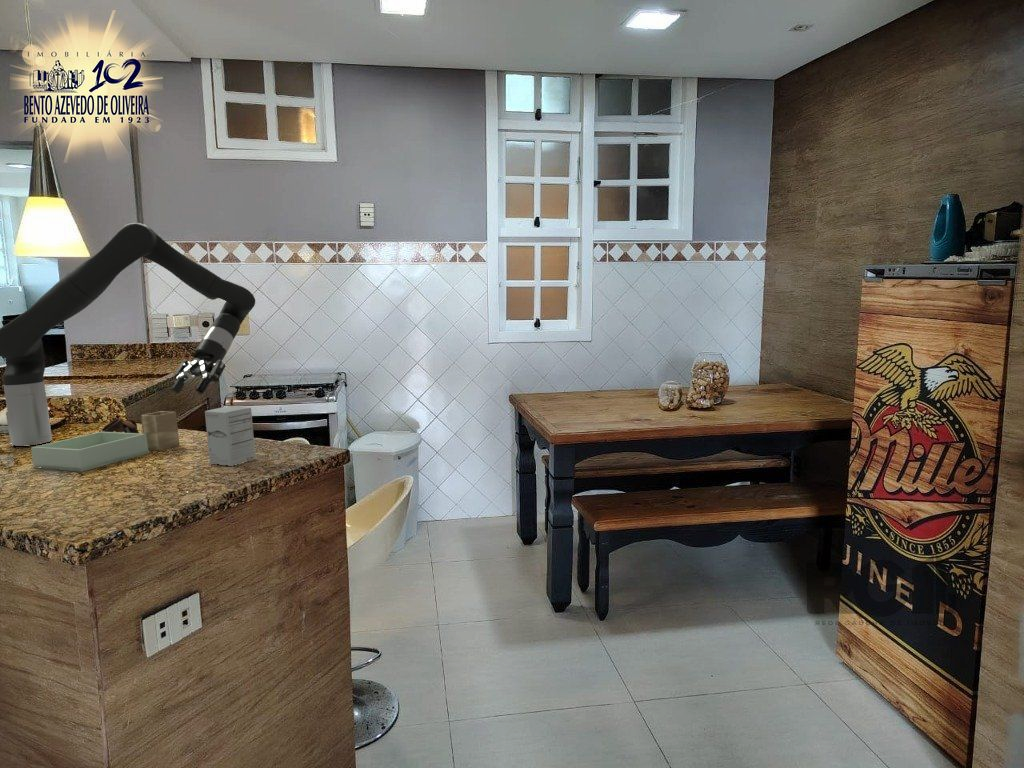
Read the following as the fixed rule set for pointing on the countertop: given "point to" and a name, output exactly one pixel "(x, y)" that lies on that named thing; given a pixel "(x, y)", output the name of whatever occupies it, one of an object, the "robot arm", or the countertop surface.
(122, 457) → the sage crate
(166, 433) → the brown cardboard box
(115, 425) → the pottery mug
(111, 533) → the countertop surface
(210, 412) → the supplement box
